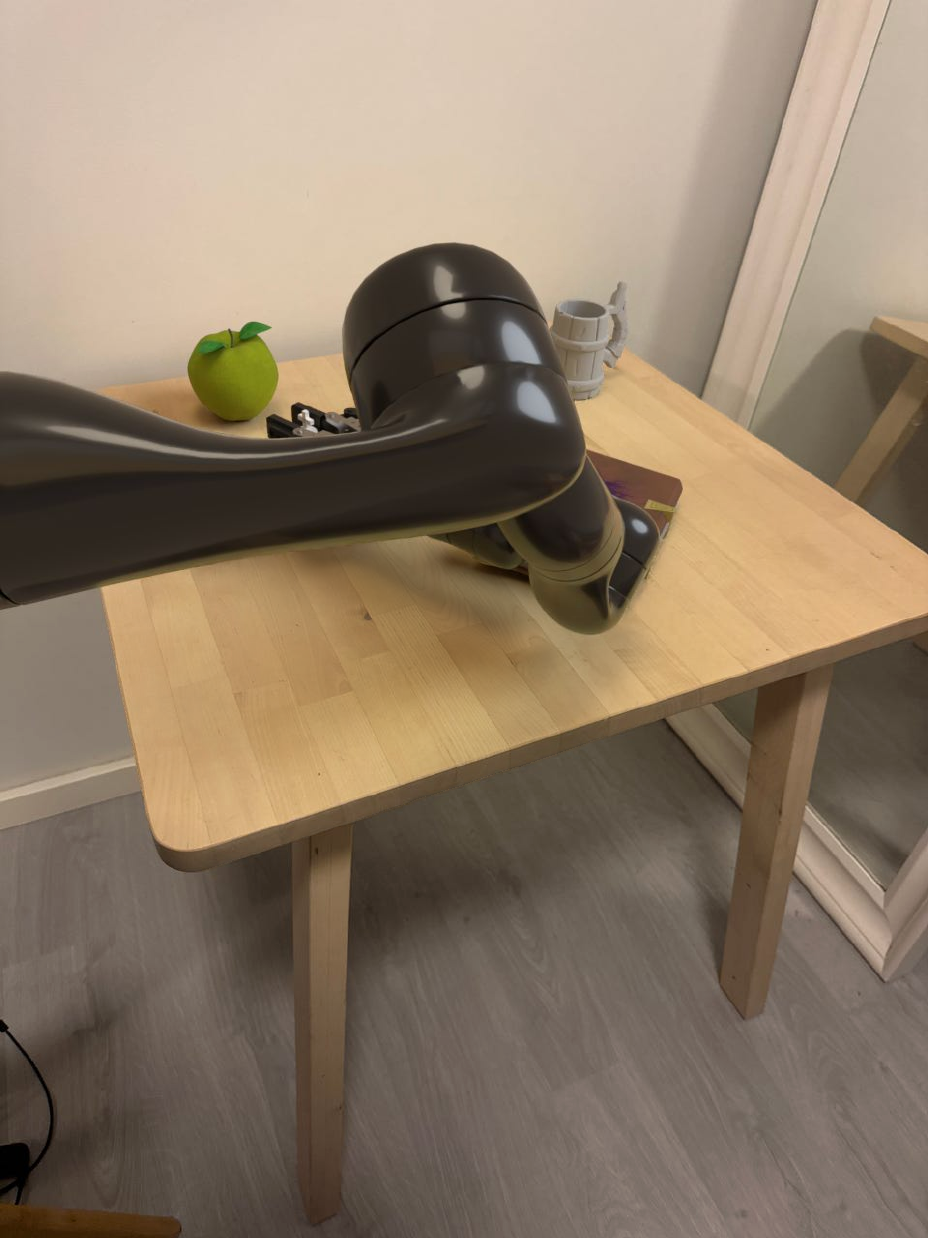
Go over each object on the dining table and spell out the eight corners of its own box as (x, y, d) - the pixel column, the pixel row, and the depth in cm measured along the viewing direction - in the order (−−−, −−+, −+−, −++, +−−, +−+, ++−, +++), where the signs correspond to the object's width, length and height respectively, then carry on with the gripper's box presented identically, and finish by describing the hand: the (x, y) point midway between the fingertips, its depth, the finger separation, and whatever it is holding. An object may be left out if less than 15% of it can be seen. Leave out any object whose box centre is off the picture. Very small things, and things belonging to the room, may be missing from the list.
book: (688, 490, 96) (702, 449, 93) (626, 624, 79) (640, 580, 75) (545, 444, 100) (554, 403, 97) (456, 563, 82) (462, 518, 79)
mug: (527, 381, 112) (538, 284, 104) (597, 361, 118) (613, 268, 110) (567, 406, 108) (582, 307, 100) (638, 385, 113) (657, 290, 106)
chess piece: (312, 485, 90) (307, 392, 83) (347, 505, 87) (344, 411, 81) (273, 504, 87) (265, 410, 80) (308, 525, 84) (303, 430, 78)
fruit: (297, 418, 101) (291, 332, 95) (223, 443, 96) (212, 353, 90) (252, 388, 106) (244, 304, 100) (180, 409, 101) (167, 322, 95)
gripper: (480, 417, 78) (332, 356, 85) (373, 481, 69) (218, 407, 76) (474, 491, 83) (334, 428, 90) (373, 560, 74) (228, 483, 81)
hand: (282, 418), depth 83 cm, fingers closed
